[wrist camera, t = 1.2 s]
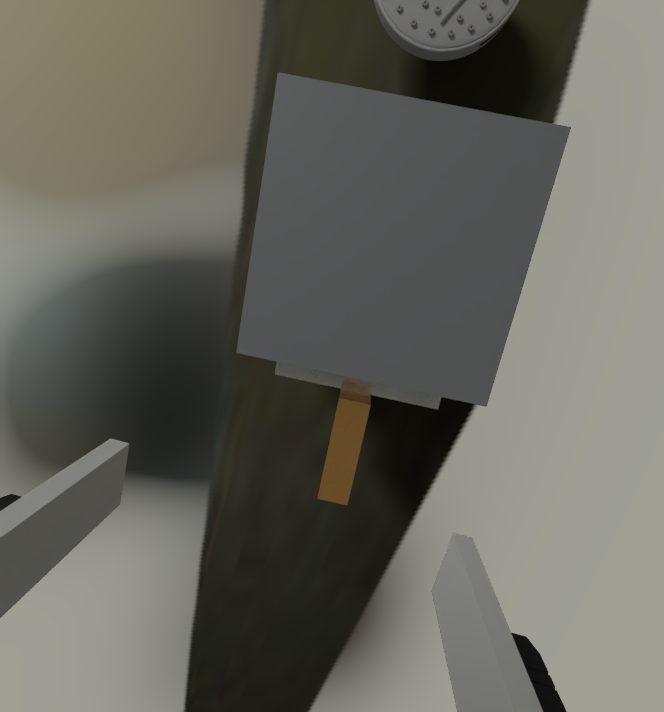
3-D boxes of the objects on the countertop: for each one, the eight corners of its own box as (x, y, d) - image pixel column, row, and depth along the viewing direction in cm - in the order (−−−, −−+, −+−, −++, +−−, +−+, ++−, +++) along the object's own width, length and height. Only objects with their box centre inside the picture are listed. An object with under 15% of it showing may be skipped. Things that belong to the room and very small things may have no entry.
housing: (314, 153, 33) (278, 72, 19) (484, 186, 32) (570, 127, 19) (285, 320, 36) (236, 352, 22) (440, 353, 35) (486, 406, 22)
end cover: (328, 180, 30) (309, 136, 20) (462, 207, 29) (512, 175, 19) (284, 420, 34) (250, 483, 24) (400, 446, 34) (415, 520, 24)
